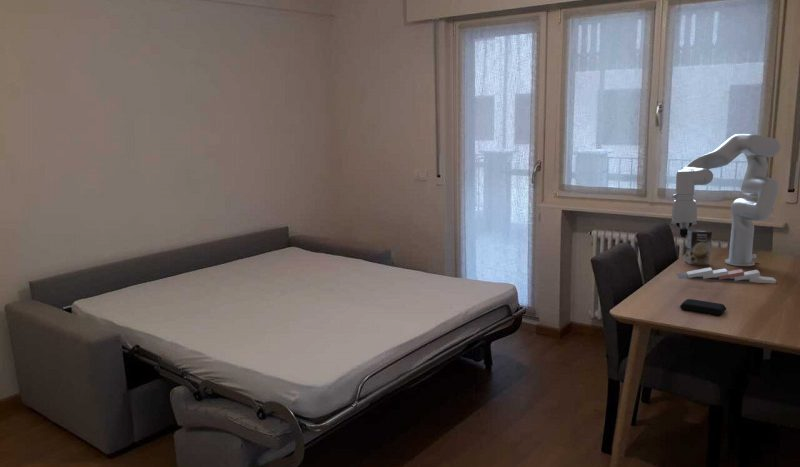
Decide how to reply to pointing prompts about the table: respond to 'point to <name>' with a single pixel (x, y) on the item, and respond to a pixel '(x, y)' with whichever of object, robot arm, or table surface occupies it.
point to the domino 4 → (762, 279)
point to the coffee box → (698, 247)
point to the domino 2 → (716, 273)
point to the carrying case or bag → (703, 307)
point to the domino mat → (684, 276)
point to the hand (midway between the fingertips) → (683, 236)
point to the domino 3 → (748, 275)
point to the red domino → (732, 274)
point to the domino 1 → (699, 272)
